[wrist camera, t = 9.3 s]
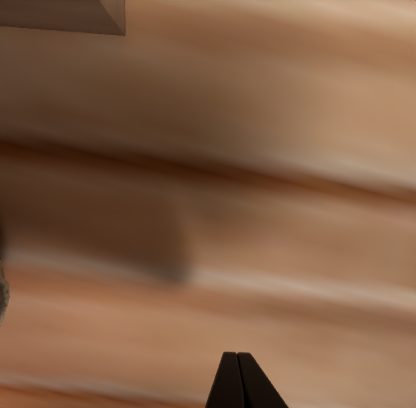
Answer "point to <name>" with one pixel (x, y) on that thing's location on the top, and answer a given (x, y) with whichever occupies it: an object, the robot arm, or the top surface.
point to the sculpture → (3, 293)
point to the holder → (65, 15)
